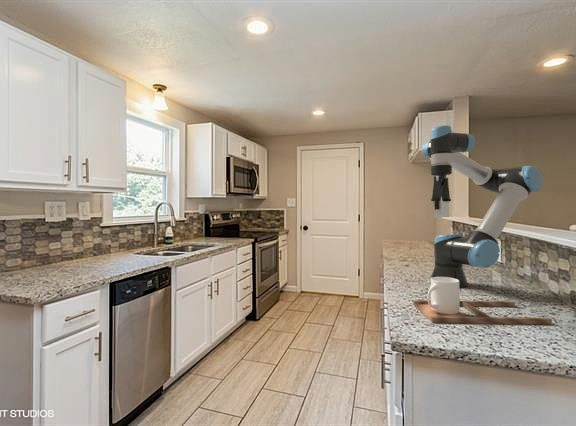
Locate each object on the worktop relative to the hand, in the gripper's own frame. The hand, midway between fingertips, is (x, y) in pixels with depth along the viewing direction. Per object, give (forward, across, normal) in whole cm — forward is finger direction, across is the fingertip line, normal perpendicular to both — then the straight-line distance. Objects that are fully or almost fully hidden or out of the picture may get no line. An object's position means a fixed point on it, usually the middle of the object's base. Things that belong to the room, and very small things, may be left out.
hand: (441, 217), depth 127 cm
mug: (+31, +24, +5) cm, 40 cm away
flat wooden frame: (+32, +18, +14) cm, 39 cm away
